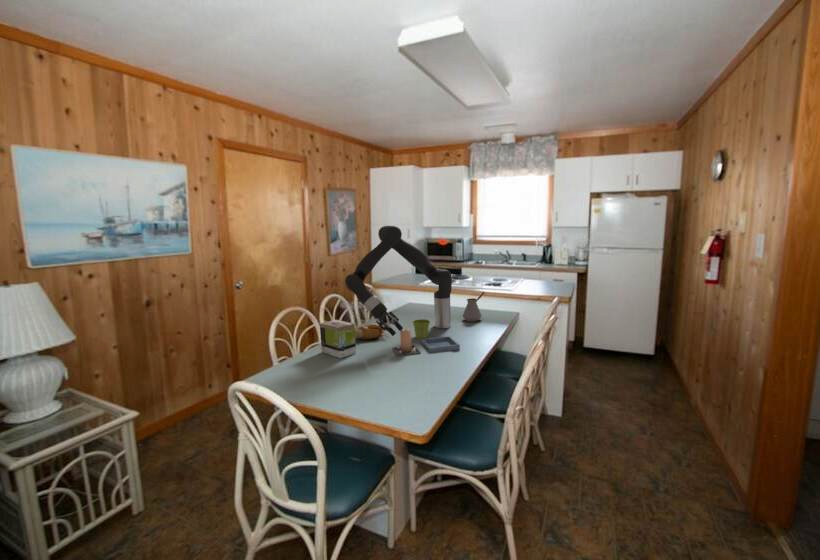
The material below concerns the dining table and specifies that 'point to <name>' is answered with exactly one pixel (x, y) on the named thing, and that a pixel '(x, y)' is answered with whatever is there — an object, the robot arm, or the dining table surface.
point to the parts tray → (399, 353)
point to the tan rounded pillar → (405, 340)
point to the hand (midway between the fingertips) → (398, 332)
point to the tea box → (338, 338)
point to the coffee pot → (472, 310)
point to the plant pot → (421, 328)
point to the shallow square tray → (440, 344)
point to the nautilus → (369, 331)
